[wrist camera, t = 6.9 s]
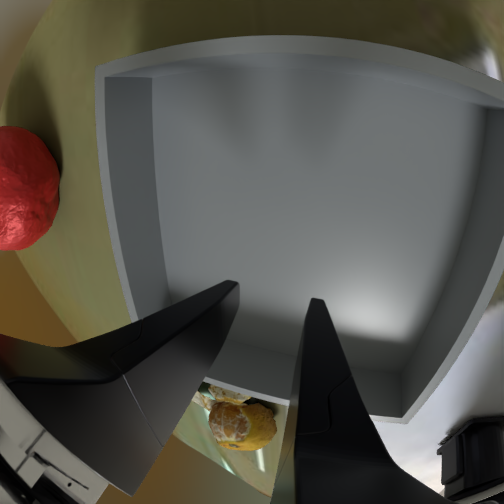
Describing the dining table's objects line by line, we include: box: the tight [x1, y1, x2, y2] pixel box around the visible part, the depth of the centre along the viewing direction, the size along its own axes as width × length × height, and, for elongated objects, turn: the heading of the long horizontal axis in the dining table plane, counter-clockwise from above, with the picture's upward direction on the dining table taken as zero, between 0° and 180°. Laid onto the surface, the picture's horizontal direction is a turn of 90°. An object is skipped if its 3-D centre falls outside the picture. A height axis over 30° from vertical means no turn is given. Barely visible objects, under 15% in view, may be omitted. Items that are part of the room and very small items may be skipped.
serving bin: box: [95, 35, 504, 424], centre depth 12 cm, size 16×16×4 cm
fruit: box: [191, 384, 277, 451], centre depth 20 cm, size 8×8×4 cm
